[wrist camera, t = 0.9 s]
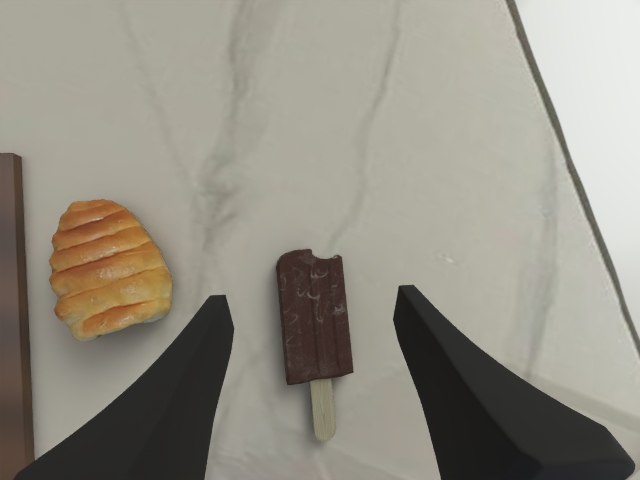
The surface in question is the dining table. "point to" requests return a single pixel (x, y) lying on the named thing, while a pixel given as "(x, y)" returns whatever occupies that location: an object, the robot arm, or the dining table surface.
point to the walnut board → (13, 326)
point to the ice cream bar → (314, 329)
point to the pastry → (106, 271)
